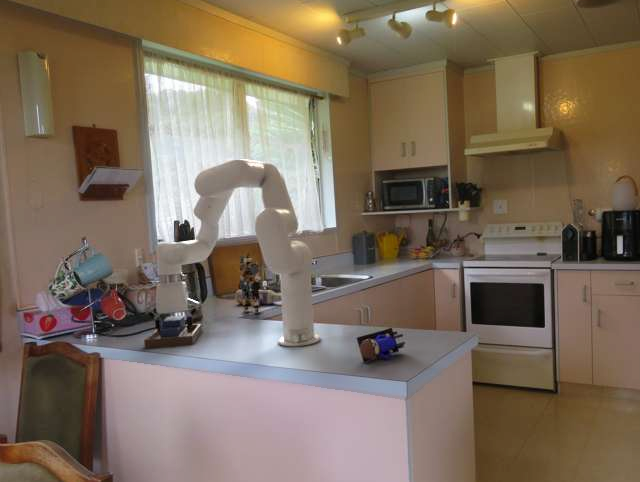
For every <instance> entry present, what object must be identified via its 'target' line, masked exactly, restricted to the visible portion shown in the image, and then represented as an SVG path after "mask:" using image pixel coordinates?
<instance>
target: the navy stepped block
mask: <svg viewBox="0 0 640 482" xmlns="http://www.w3.org/2000/svg"><path fill="white" fill-rule="evenodd" d="M185 315H186V314H185ZM185 315H183V314H182V315H174V316H173V315H172V316H171V315H170V316H166V318H164V320H161V325H162V327H163V328H162V329H161V330H160V338H168V337H179V336H185V335H186V334H187V328H186V326H185V325H186V316H185Z"/></svg>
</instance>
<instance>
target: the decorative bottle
mask: <svg viewBox="0 0 640 482" xmlns="http://www.w3.org/2000/svg"><path fill="white" fill-rule="evenodd" d="M250 291H251V290H250ZM258 291H259V299H258V301H259V302H260V305H266V306H269V305H273V304H274V303H278V302H281V293H278V292H277V293H276V292H275V291H274V290H272V289H271V290H269V289H259V290H258ZM244 293H245V292H244ZM252 294H253V293H252ZM234 297H235V302H236V303H237V304H239V305H243V302H242V301H243V300H245V298H243V295H242V290H240V289H238V290H237V291H236V292H235V295H234ZM248 297H249V296H248ZM248 300H249V301H250V305H251V302H254V301H255V300H253V299H252V298H251V296H250V298H249V299H248ZM246 304H249V303H246Z"/></svg>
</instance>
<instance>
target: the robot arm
mask: <svg viewBox="0 0 640 482" xmlns="http://www.w3.org/2000/svg"><path fill="white" fill-rule="evenodd" d="M193 183H194V184H193V185H194V190H195V192H196V193H197V195H199V199H198V200H197V202H196V203H195V206H194V208H193V215H194V216H195V217H196V218H197V219H198V220H200V228H199V231H198V233H197V235H196V237H195V239H193V240H192V239H191V240H185V241H178V242H174V241H173V242H161V243H157V244H156V246H155V255H156V266H157V267H156V269H157V277H158V283H157V284H156V289H155V291H156V292H155V301H153V303H151V304H149V305H147V306H146V307H145V311H146V313H148V316H150V317H151V318H152V319H153V320H154V323H155V330H156V329H158V332H160V330H161V329H162V318H161V316H162V315H167V314H179V313H184V314H185V315H186V316H187V317H186V325H187V326H188V329H190V328H191V326H193V324H194V321H193V316H194V315H195V314H196V313H197V311H198V310H199V307H200V304H201V303H200V301H199V302H198V301H196V300H194V299H191V298H189V292H188V286H187V283H186V281H184V280H186V279H187V278H188V275H187V274H184V273H183V270H182V265H183V266H185V265H190V264H195V263H201V262H203V261H205V260H207V259H208V257H209V256H210V255H211V254H212V252H213V249H214V248H215V246H216V244H217V241H218V239H219V232H220V225H219V221H220V219H221V217H222V215H223V214H224V211H225V209H226V207H227V205H228V203H229V202H230V199H231V198H232V195H233V194H234V192H235V189H239V188H247V189H249V188H251V189H253V188H254V189H257V188H258V189H260V198H261V202H262V205H263V209H262V210H261V211H259V212H258V213H257V215H256V217H255V219H254V231H255V232H254V233H255V235H256V238H257V242H258V244H259V248H260V251H261V254H262V258H263V260H264V263H265V265H266V267H267V269H268V270H269V271H270V272H271V273H273V274H274V275H278V276H280V294H281V301H280V302H281V316H282V318H281V319H282V331H283V333H282V334H283V336H281V337H280V338H279V339H278V344H279V345H281V346H284V347H303V346H308V345H313V344H316V343H318V342H319V341H320V335H318V334H316V333H315V324H314V306H313V293H312V292H313V290H312V288H313V287H312V269H313V255H312V254H313V253H312V251H311V249H310V247H309V246H308V245H307V244H306V243H305V242H303V241H300V240H290V237H292V236H294V235H296V233H297V232H298V228H299V222H298V218H297V215H296V212H295V209H294V205H293V203H292V199H291V196H290V194H289V191H288V187H287V183H286V181H285V178H284V175H283V173H282V171H281V170H280V168H279V167H277V166H276V165H275V164H272V163H269V162H265V161H259V160H251V159H244V158H235V159H230V160H228V161H224V162H222V163H220V164H217V165H214V166H211V167H209V168H206V169H204V170H202V171H200V172H199V173H198V174H197V175H196V177H195V179H194V182H193ZM190 305H193V309H192V310H191V309H190V307H191V306H190ZM154 307H155V310H156V312H154V311H153V308H154Z"/></svg>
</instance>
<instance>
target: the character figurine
mask: <svg viewBox="0 0 640 482" xmlns="http://www.w3.org/2000/svg"><path fill="white" fill-rule="evenodd" d="M403 337H404V334H403V333H400V334H398V331H397V330H396V331H393V327H389V328H386V329H383V330H379V331H376V332H372V333H368V334H365V335H361V336H357V337H356V341H357V345H358V348H359V352H360V354H361V358H362V362H363V363H367V362H369V361H373V360H377V359H380V358H382V359H384V360H388V359H389V357H391V355H392V354H396V353H399V352H400V350H399V349H403V348H405V344H406V342H405V341H401V342H398V343H397V339H399V338H403Z"/></svg>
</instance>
